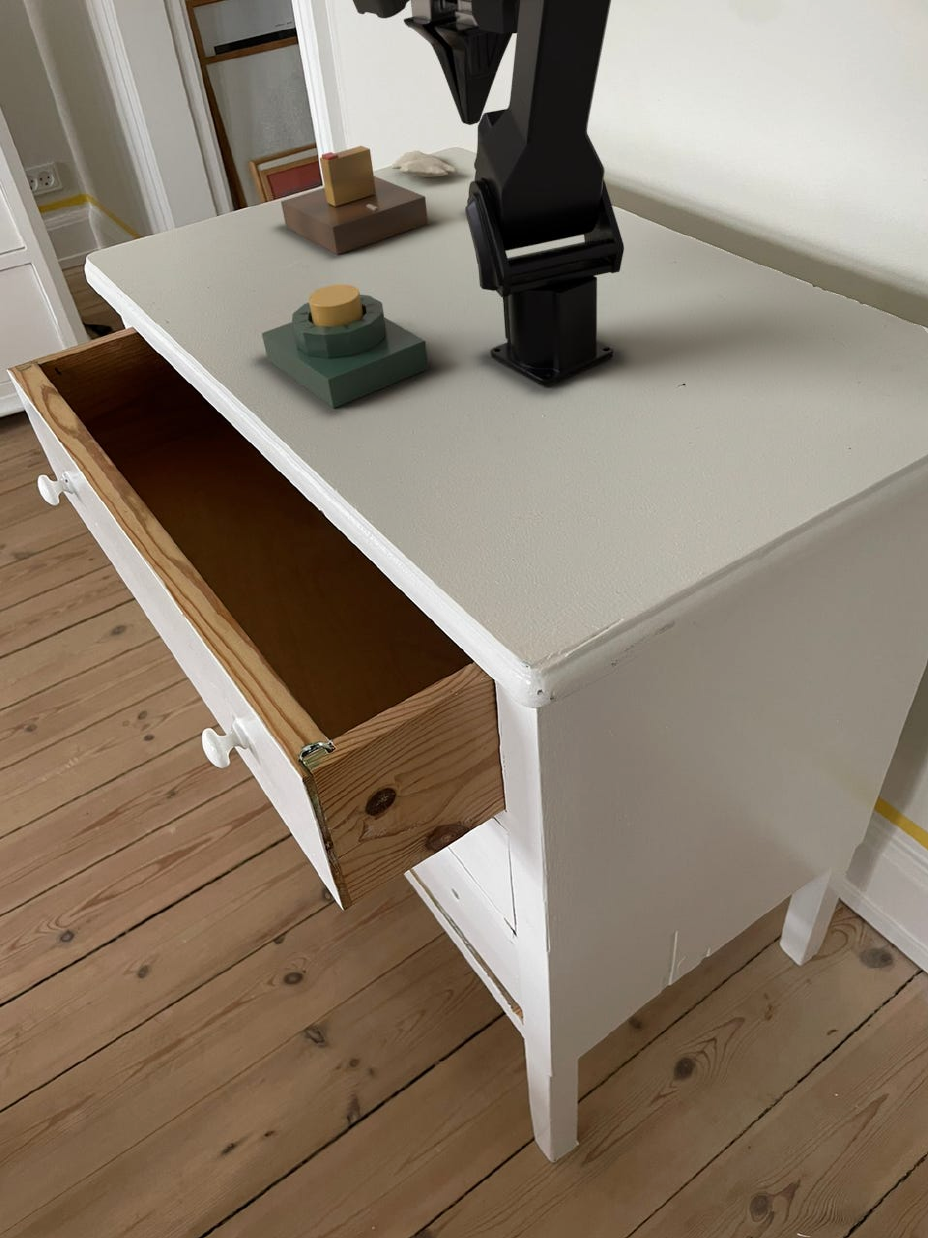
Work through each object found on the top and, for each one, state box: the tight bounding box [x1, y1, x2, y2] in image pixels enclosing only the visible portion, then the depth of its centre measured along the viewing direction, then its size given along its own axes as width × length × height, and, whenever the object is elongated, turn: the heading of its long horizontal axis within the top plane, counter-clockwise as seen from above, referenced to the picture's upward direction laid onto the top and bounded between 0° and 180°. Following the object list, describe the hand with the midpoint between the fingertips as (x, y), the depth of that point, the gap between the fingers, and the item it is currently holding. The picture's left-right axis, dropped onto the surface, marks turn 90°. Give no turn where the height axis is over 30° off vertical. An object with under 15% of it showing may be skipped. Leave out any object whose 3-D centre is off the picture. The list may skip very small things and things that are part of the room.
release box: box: [261, 294, 429, 409], centre depth 70 cm, size 10×8×4 cm
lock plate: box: [280, 175, 429, 255], centre depth 92 cm, size 10×10×3 cm
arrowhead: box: [390, 150, 459, 178], centre depth 103 cm, size 7×2×10 cm
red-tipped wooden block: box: [319, 145, 376, 207], centre depth 90 cm, size 4×2×4 cm, turn 125°
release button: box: [308, 284, 363, 327], centre depth 69 cm, size 4×4×2 cm
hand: (471, 122), depth 73 cm, fingers closed
